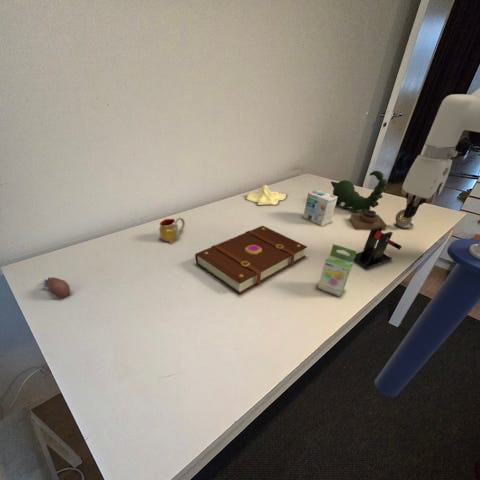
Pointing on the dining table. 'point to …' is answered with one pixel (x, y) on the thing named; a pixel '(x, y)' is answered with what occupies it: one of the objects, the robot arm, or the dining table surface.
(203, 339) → the dining table surface
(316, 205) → the light bulb box
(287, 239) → the book
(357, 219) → the button block
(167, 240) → the mug
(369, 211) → the button
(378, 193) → the toy figurine
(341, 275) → the ink box
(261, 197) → the cloth
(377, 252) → the black lever stand
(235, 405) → the dining table surface
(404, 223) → the pocket watch
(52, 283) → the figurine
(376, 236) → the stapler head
